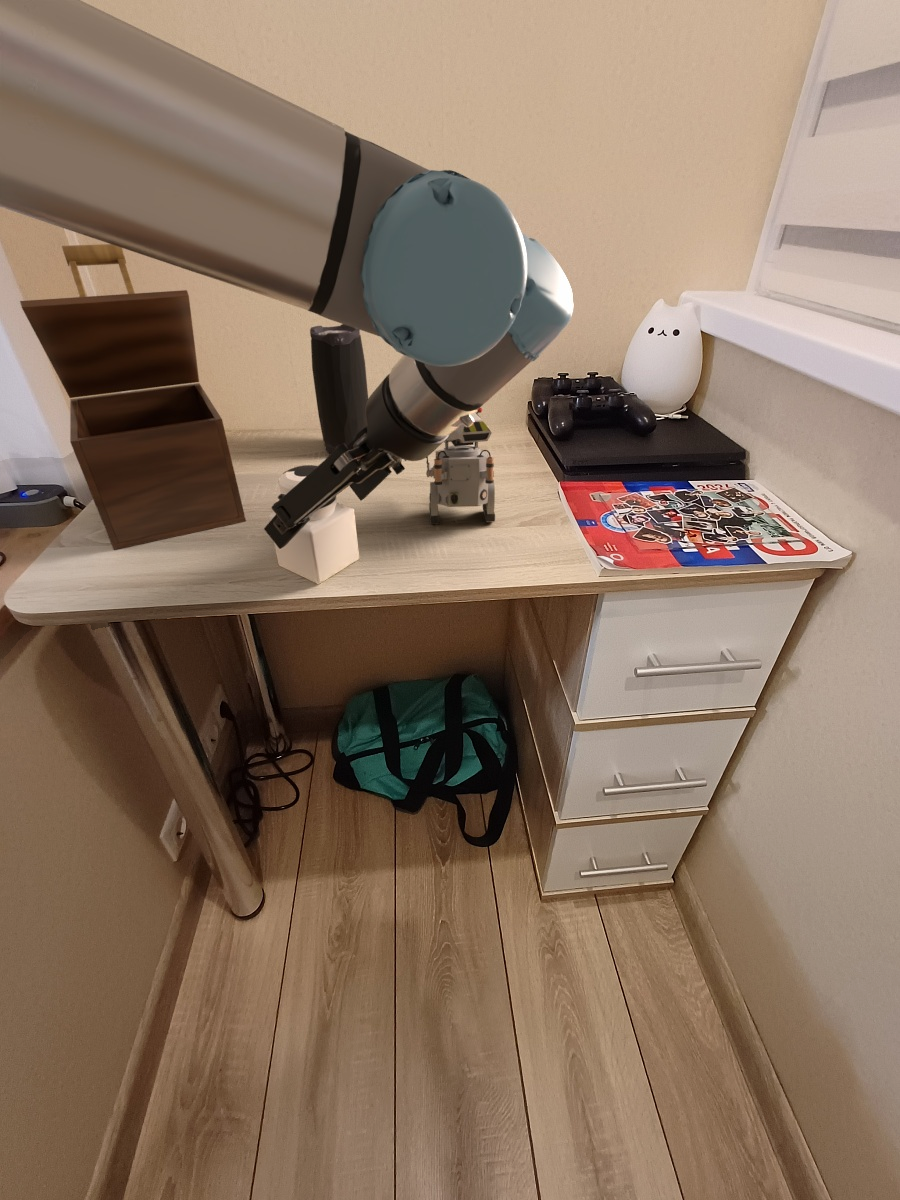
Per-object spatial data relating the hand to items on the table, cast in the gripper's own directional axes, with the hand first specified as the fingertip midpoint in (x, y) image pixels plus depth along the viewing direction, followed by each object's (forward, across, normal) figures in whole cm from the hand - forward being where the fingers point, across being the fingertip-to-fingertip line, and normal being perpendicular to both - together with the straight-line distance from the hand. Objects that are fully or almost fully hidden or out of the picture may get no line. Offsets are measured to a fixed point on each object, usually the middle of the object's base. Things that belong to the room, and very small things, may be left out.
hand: (317, 512), depth 66 cm
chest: (+25, 0, +15) cm, 30 cm away
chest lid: (+12, +1, +31) cm, 33 cm away
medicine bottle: (+6, 0, -5) cm, 7 cm away
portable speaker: (+21, +31, +11) cm, 39 cm away
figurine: (+1, +21, -10) cm, 23 cm away
